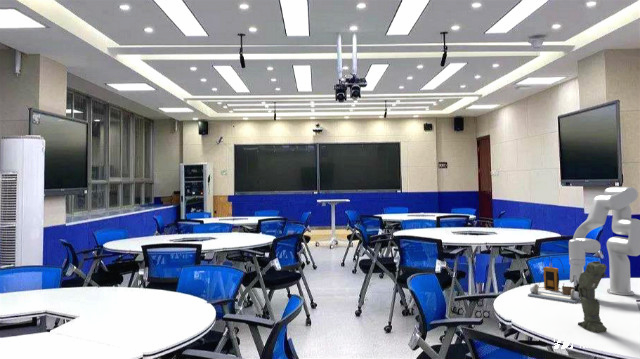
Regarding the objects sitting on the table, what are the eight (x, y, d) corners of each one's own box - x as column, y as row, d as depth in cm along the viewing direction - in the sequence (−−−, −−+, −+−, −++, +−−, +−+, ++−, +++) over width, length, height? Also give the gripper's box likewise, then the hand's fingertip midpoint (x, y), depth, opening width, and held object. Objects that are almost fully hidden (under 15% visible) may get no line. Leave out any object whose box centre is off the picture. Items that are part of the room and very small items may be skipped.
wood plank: (562, 295, 235) (561, 286, 235) (562, 294, 237) (562, 285, 237) (594, 299, 226) (594, 290, 226) (595, 298, 228) (594, 289, 228)
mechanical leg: (569, 320, 188) (578, 256, 181) (584, 319, 188) (594, 256, 182) (591, 338, 174) (602, 270, 168) (607, 337, 175) (619, 269, 168)
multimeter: (571, 290, 247) (570, 256, 248) (563, 292, 241) (562, 257, 242) (546, 285, 259) (545, 253, 260) (537, 288, 254) (536, 254, 254)
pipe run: (535, 292, 243) (535, 281, 243) (581, 299, 227) (580, 287, 227) (527, 296, 234) (527, 285, 234) (574, 303, 218) (574, 291, 218)
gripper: (573, 259, 241) (574, 292, 240) (565, 263, 230) (566, 297, 229) (588, 261, 235) (589, 294, 235) (581, 264, 224) (582, 299, 224)
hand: (578, 295), depth 232 cm, fingers closed on wood plank, 1 cm apart
